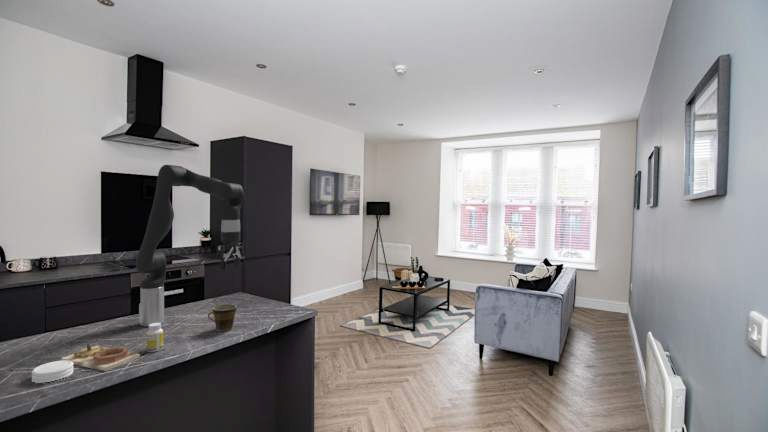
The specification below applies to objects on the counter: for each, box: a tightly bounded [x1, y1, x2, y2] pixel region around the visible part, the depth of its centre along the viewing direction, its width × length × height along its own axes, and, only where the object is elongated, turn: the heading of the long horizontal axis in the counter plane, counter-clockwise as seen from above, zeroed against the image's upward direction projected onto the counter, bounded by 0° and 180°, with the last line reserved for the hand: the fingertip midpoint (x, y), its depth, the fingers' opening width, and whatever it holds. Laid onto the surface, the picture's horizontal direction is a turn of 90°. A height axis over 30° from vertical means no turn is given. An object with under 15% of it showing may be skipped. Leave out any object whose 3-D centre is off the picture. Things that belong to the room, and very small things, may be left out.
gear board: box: [60, 342, 141, 372], centre depth 130 cm, size 22×12×5 cm, turn 72°
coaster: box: [31, 359, 74, 384], centre depth 117 cm, size 10×10×4 cm
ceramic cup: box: [207, 303, 238, 333], centre depth 161 cm, size 13×10×10 cm
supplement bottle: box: [146, 323, 164, 353], centre depth 139 cm, size 5×5×10 cm
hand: (230, 268), depth 154 cm, fingers open, 8 cm apart
